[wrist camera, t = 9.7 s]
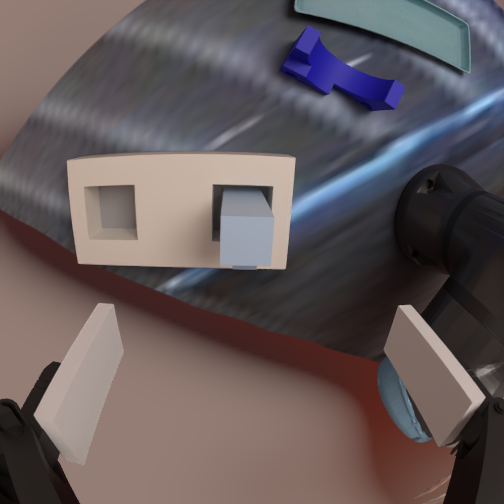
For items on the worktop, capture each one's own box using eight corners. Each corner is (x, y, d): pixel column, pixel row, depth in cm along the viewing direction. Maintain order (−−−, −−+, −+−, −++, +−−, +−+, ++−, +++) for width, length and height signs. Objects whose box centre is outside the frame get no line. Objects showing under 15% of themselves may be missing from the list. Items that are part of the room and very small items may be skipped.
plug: (259, 188, 34) (274, 217, 23) (257, 228, 36) (269, 275, 25) (224, 187, 34) (220, 215, 23) (222, 227, 35) (220, 274, 24)
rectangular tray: (461, 26, 27) (471, 23, 25) (462, 76, 30) (472, 75, 28) (295, -37, 24) (299, -45, 22) (289, 18, 28) (293, 10, 25)
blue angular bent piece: (279, 70, 30) (288, 59, 24) (295, 41, 29) (307, 25, 23) (366, 120, 33) (390, 120, 27) (380, 91, 31) (405, 87, 26)
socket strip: (286, 154, 34) (295, 157, 29) (278, 251, 38) (285, 269, 34) (86, 155, 32) (67, 160, 27) (94, 247, 36) (78, 263, 32)
